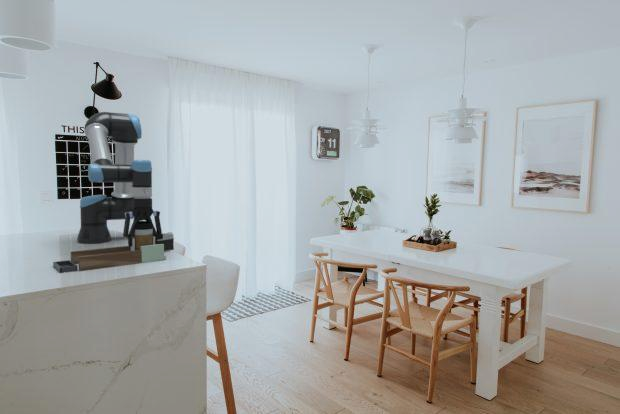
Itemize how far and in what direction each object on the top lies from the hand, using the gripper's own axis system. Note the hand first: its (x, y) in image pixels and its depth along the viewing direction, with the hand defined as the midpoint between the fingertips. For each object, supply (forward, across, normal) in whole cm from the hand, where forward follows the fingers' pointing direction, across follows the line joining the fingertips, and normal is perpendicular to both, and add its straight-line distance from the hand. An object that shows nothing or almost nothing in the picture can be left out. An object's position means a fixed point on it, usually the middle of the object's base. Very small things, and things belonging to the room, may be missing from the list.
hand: (143, 252), depth 168 cm
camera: (+3, +10, +12) cm, 16 cm away
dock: (+3, +2, 0) cm, 3 cm away
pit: (+3, -28, 0) cm, 28 cm away
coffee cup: (+2, 0, 0) cm, 2 cm away
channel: (+3, -14, 0) cm, 14 cm away
